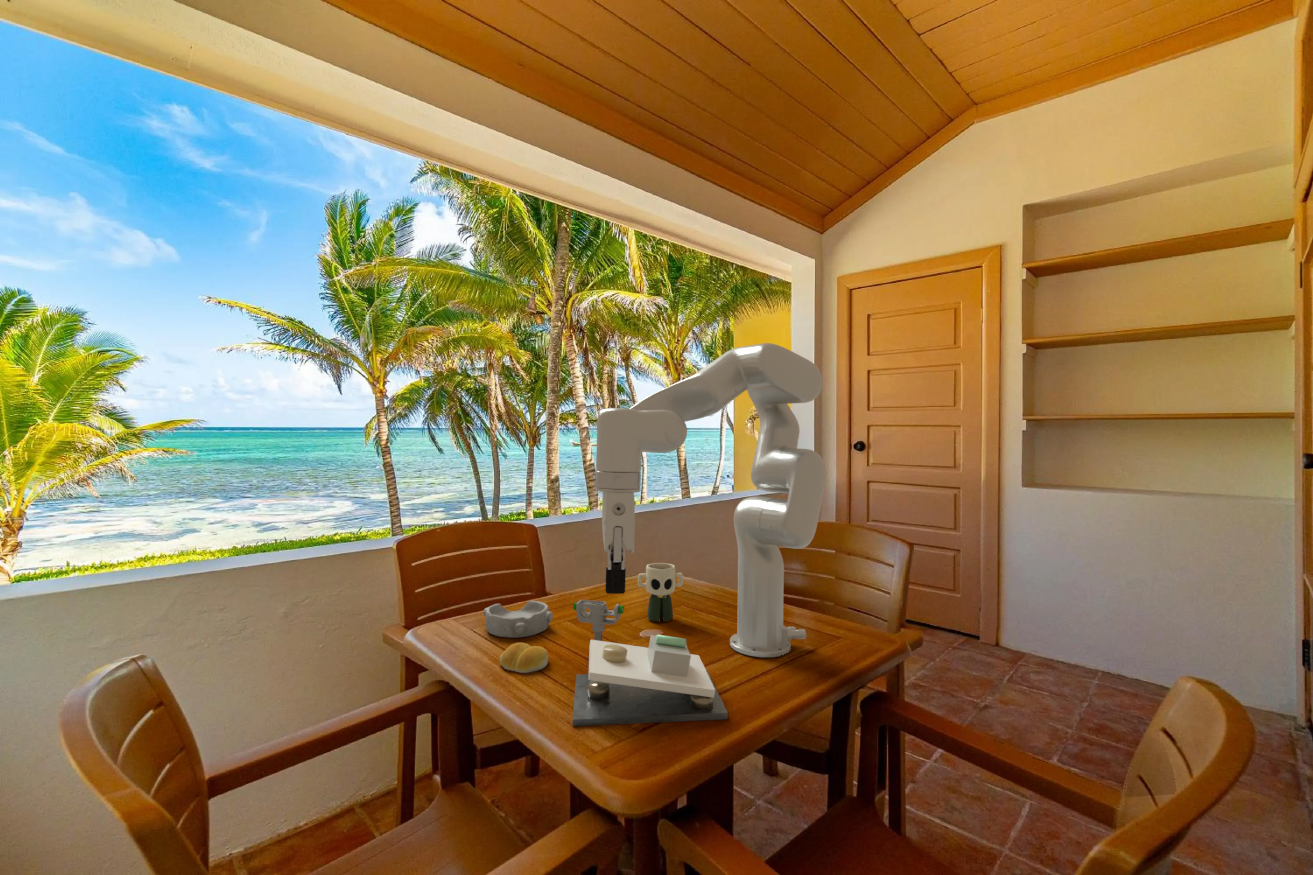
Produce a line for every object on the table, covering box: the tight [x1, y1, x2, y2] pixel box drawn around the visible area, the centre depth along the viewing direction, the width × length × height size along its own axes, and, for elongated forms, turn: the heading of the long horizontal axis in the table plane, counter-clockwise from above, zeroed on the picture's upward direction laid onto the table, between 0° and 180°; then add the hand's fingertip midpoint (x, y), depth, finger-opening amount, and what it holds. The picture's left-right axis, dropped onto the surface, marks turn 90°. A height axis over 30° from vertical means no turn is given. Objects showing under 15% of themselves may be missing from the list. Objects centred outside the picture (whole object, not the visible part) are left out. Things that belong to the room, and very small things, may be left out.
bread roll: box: [499, 642, 549, 674], centre depth 107 cm, size 8×9×4 cm
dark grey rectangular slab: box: [572, 669, 729, 727], centre depth 93 cm, size 24×16×3 cm, turn 96°
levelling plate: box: [588, 634, 715, 697], centre depth 93 cm, size 20×14×6 cm
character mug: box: [637, 562, 684, 622], centre depth 134 cm, size 11×7×13 cm, turn 96°
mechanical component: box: [572, 599, 625, 641], centre depth 113 cm, size 3×10×10 cm, turn 78°
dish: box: [483, 600, 554, 639], centre depth 126 cm, size 14×14×5 cm
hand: (615, 592), depth 92 cm, fingers closed
